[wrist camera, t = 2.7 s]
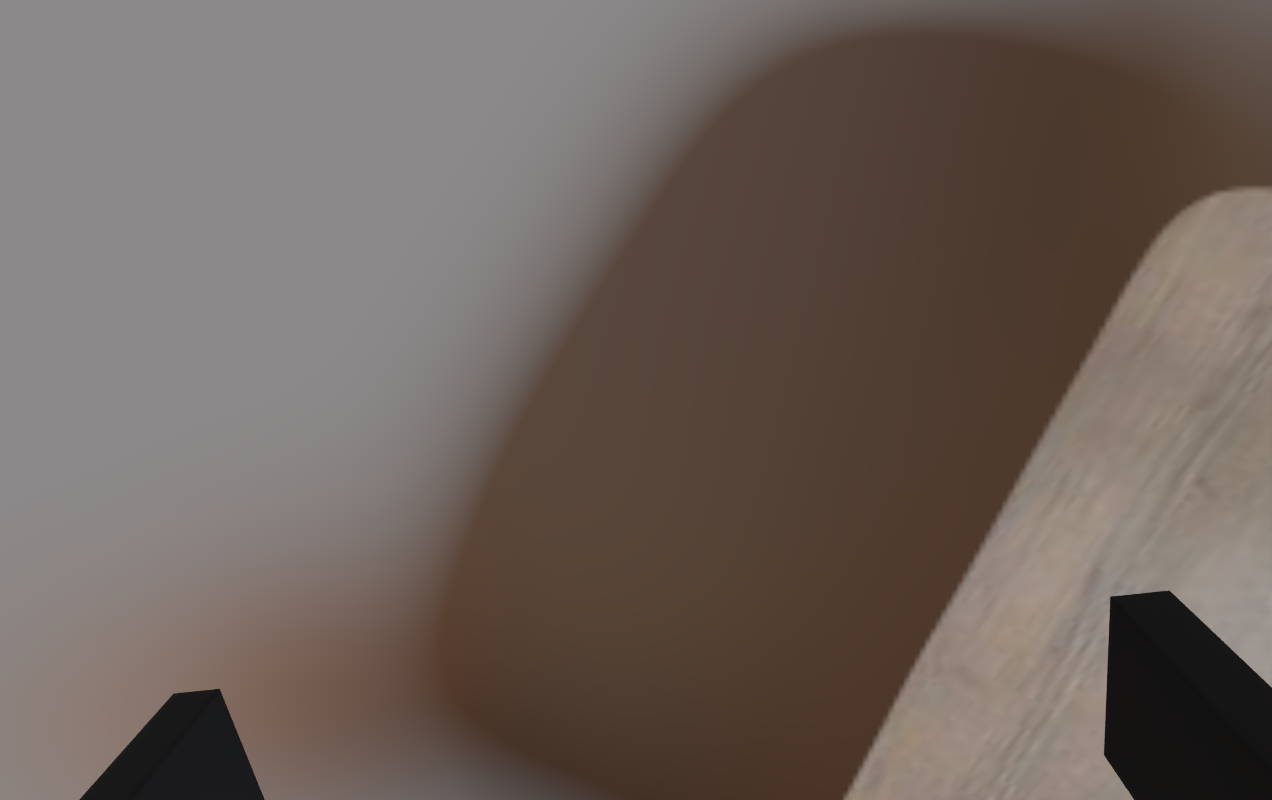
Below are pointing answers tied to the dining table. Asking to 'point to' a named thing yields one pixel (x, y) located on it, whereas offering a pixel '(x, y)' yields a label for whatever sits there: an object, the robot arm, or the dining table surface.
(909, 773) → the dining table surface
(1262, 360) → the dining table surface
